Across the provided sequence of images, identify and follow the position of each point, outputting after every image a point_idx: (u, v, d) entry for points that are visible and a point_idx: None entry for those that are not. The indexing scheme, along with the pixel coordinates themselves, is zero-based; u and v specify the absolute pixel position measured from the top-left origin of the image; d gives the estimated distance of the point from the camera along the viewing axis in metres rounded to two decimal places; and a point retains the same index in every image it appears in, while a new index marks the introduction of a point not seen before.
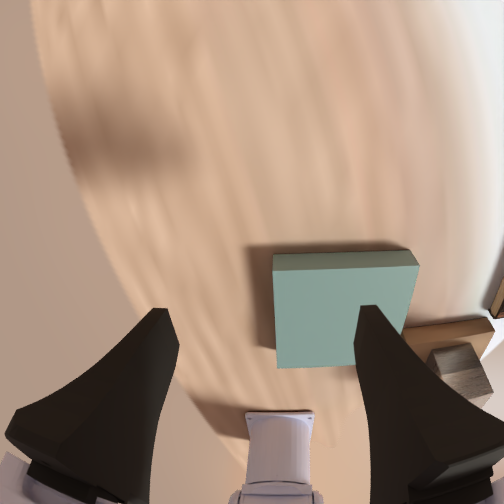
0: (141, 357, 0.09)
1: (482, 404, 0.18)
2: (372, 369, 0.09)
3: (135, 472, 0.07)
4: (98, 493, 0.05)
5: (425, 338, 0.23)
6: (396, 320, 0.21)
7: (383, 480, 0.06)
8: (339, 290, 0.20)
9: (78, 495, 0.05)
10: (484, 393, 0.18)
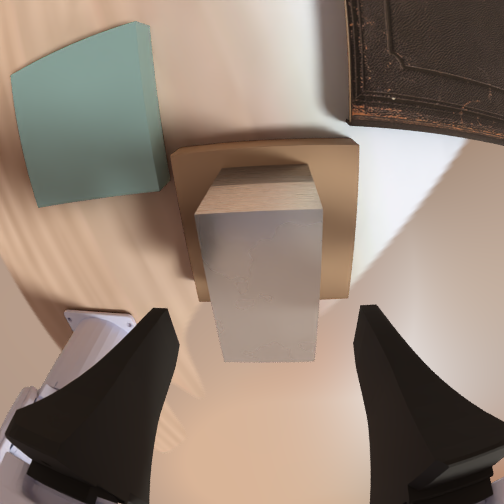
0: (141, 357, 0.09)
1: (314, 252, 0.11)
2: (372, 369, 0.09)
3: (135, 472, 0.07)
4: (98, 493, 0.05)
5: (206, 149, 0.16)
6: (132, 107, 0.14)
7: (383, 480, 0.06)
8: (58, 76, 0.13)
9: (78, 495, 0.05)
10: (295, 207, 0.11)
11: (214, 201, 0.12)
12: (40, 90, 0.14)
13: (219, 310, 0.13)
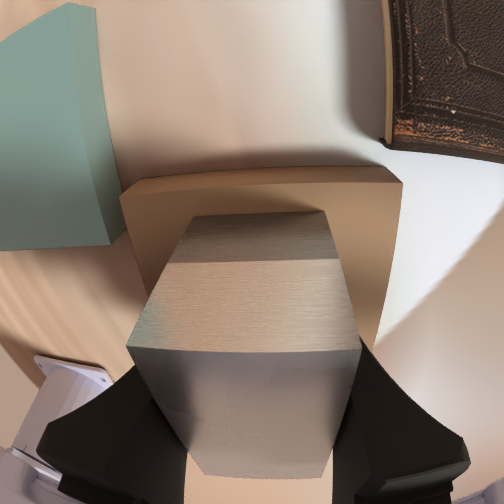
0: None
1: (336, 399, 0.06)
2: None
3: (172, 480, 0.07)
4: None
5: (171, 186, 0.11)
6: (65, 127, 0.09)
7: (340, 486, 0.06)
8: None
9: (78, 495, 0.05)
10: (308, 344, 0.05)
11: (164, 309, 0.07)
12: None
13: (190, 442, 0.08)
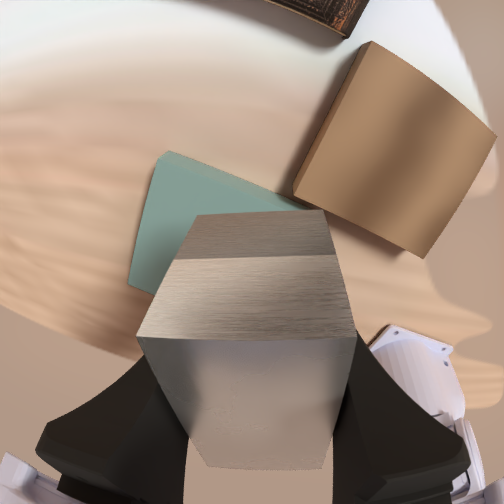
0: None
1: (334, 387, 0.07)
2: None
3: (172, 480, 0.07)
4: None
5: (308, 163, 0.17)
6: (232, 200, 0.18)
7: (340, 486, 0.06)
8: (161, 245, 0.20)
9: (78, 495, 0.05)
10: (307, 333, 0.06)
11: (172, 302, 0.07)
12: (160, 266, 0.21)
13: (194, 432, 0.08)
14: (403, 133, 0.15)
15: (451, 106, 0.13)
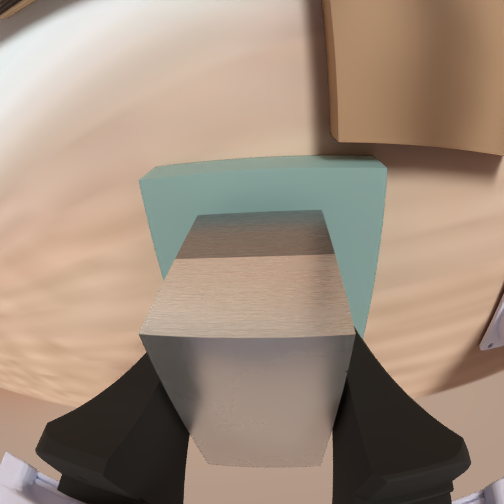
0: None
1: (333, 384, 0.07)
2: None
3: (172, 480, 0.07)
4: None
5: (334, 90, 0.10)
6: (259, 188, 0.12)
7: (340, 486, 0.06)
8: None
9: (78, 495, 0.05)
10: (307, 331, 0.06)
11: (174, 301, 0.07)
12: None
13: (195, 429, 0.09)
14: (427, 0, 0.07)
15: None
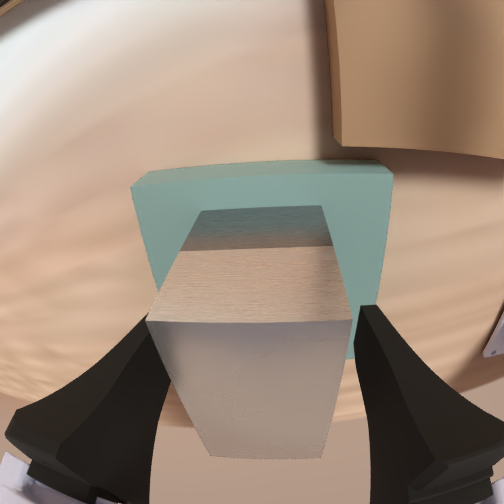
0: (141, 357, 0.09)
1: (332, 370, 0.07)
2: (372, 369, 0.09)
3: (135, 472, 0.07)
4: (98, 493, 0.05)
5: (338, 91, 0.09)
6: (257, 195, 0.11)
7: (383, 480, 0.06)
8: None
9: (78, 495, 0.05)
10: (306, 316, 0.06)
11: (179, 289, 0.08)
12: None
13: (198, 418, 0.09)
14: None
15: None
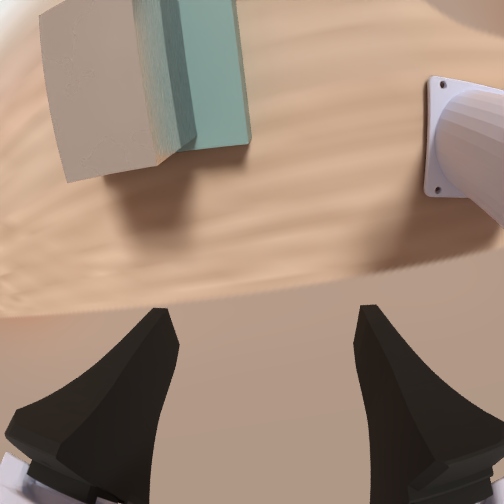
0: (141, 357, 0.09)
1: (125, 11, 0.08)
2: (372, 369, 0.09)
3: (135, 472, 0.07)
4: (98, 493, 0.05)
5: None
6: None
7: (383, 480, 0.06)
8: None
9: (78, 495, 0.05)
10: None
11: None
12: None
13: (54, 104, 0.10)
14: None
15: None
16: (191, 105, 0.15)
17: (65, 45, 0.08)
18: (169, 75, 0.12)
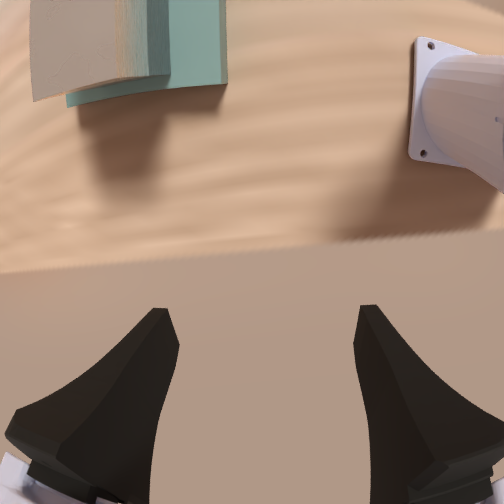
0: (141, 357, 0.09)
1: None
2: (372, 369, 0.09)
3: (135, 472, 0.07)
4: (98, 493, 0.05)
5: None
6: None
7: (383, 480, 0.06)
8: None
9: (78, 495, 0.05)
10: None
11: None
12: None
13: (34, 27, 0.08)
14: None
15: None
16: (168, 44, 0.13)
17: None
18: (146, 8, 0.10)
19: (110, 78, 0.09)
